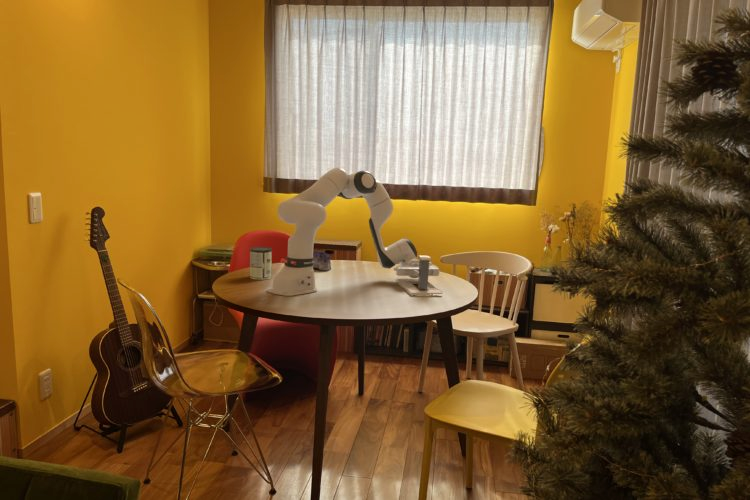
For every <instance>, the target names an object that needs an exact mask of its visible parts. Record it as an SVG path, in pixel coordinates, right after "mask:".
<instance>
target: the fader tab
mask: <svg viewBox="0 0 750 500" xmlns="http://www.w3.org/2000/svg"><path fill="white" fill-rule="evenodd" d="M417 258H418V260H419V276H418V278H417V279H418V285H417V289H418V290H419V291H427V288H428V282H429V276H428V272H429V262H430V261H431V260H432V259H431V256H429V255H417Z"/></svg>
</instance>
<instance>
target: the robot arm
mask: <svg viewBox="0 0 750 500" xmlns="http://www.w3.org/2000/svg"><path fill="white" fill-rule="evenodd" d="M337 196H339V197H341V198H343V199H344V200H351V199H354V198H360V197H362V198H363V199H364V200H365V201H366V203H367V205H368V208H369V211H370V218H369V219H368V225H369V230H370V233H371V237H372V240H373V244H374V246H375V252H376V255H377V260H378V261H377V262H378V263H379V265H380V266H381V267H382V268H384V269H389V270H390V269H391V268H393V271H395V274H396V275H397V276H401V277H409V278H410V279H418V276H419V260H420V259H417V258H418V251H417V248H416V247H415V245H414V243H413V242H412V241H411V240H410V239H408V238H406V237H404V238H400V239H399V240H397V241H395V242H394V243H392V244H390V245H388V246H386V247H385V245H384V243H383V237H382V235H381V229H382V227H383V226H384V224H385V223H386V222H387V221H388V220H389V218H390V217H391V216H392V214H393V212H394V205H393V202H392V200H391V197H390V195H389V193H388V191H387V190H386V188H385V186H384V185H383V183H382V182H381V181H380V180H378V179H376V178H375V176H374V175H373V174H372V173H371V172H370V171H367V170H359V171H357V172H354V173H350V174H348V173H347V171H345V169H343V168H341V167H334V168H332V169H330V170H329V171H327V172H326V173H324V174H323V175H322V176H321V177H320V178H319V179H318V180H316V181H315V182H314V183H313V184H312V185H311V186H309V187H308V188H307V189H305V190H304V191H301V192H300V193H298V194H296V195H295V196H293V197H290V198H288V199H285V200H283V201H281V202H280V203H279V204H278V207H277V215H278V218H279V219H280V220H281V221H283V222H285V223H286V224H289V225H293V226H294V225H295V230H294V233H293V234H292V235H290V236H289V238H288V240H287V256H286V258H281V259H280V263H281V264H284V266H283V267H282V268H281V269H280V270H279V272H278V273H276V274H275V276H274V277H273V279H272V286H271V287H267V289H266V292H267V293H270V294H274V295H278V296H285V297H286V296H287V297H292V296H297V295H303V294H308V293H316V292H317V288H316V280H315V279H316V278H315V277H316V276H315V270H314V269H313V265H314V257H313V252H314V245H315V244H314V243H315V239H316V238H315V236H316V234H317V231H318V230H319V229H320V227H321V226H322V225H324V223H325V222H326V220H327V210H326V207H327V206H329V204H331V203H332V202H333V201H334V199H336V198H337ZM398 264H399V265H398ZM395 266H396V267H395ZM439 276H440V268H439V267H438V266H437V265H435V264H433V262H431V261H429V272H428V277H439Z"/></svg>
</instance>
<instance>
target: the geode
mask: <svg viewBox="0 0 750 500" xmlns="http://www.w3.org/2000/svg"><path fill="white" fill-rule="evenodd" d="M313 257H314V265H313V270H314V269H317V270H318V271H319V272H329V271H331V270H332V262H331V254H329V253H325V252H324V251H321V250H317V249H316V250H313Z"/></svg>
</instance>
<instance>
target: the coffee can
mask: <svg viewBox="0 0 750 500" xmlns="http://www.w3.org/2000/svg"><path fill="white" fill-rule="evenodd" d="M272 253H273V248H271V247H270V246H269V247H268V246H254V247H250V248H249V279H252V280H256V281H258V280H259V281H266V280H270V279H272V265H273V264H272V263H273V262H272V260H273V259H272V258H273V257H272V255H273V254H272Z"/></svg>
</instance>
